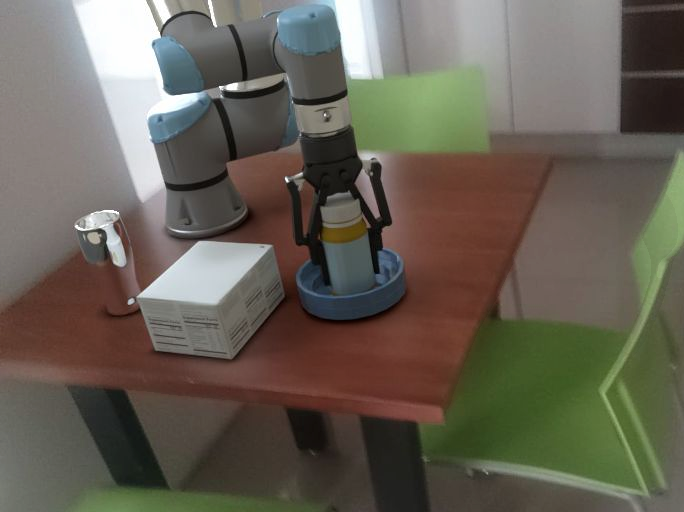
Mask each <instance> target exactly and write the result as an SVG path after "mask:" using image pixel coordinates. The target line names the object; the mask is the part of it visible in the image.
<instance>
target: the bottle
mask: <svg viewBox="0 0 684 512" xmlns="http://www.w3.org/2000/svg"><path fill="white" fill-rule="evenodd" d="M320 209H321V214H322V221H321V226H320V231H319V239H320V241H321V244H322V246H323V251H324V256H325V261H326V266H327V272H328V277H329V282H330V285H329V288H330V292H331V293H332V295H334V296H346V295H354V294H359V293H364V292H368V291H370V290H373V289H374V287H375V285H376V284H375V276H374V269H373V263H372V256H371V249H370V243H369V236H368V230H367V228H368V225H367V222H366V221H365V219H364V217H363V213H362V211H361V209H360V202H359V198H358V199H356V200H354V198H353V197H352V195H351V193H350V192H349V191H348V192H346V193H336V194H334V195H332V196H328V197H327V201H326V204H325V206H321V208H320Z"/></svg>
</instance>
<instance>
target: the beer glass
mask: <svg viewBox="0 0 684 512" xmlns="http://www.w3.org/2000/svg"><path fill="white" fill-rule="evenodd" d="M73 226H74V229H75V232H76V236H77V240H78V243H79V246H80V250H81V253H82V255H83V257H84V260H85V262H86V264H87V265H88V268H89V269H90V271H91V272H92V274H93V276H94V277H95V279H96V280H97V282H98V284H99V286H100V288H101V290H102V292H103V296H104V300H105V306H106V311H107V313H108V314H109V315H112V316H117V317H119V316H126V315H130V314H133V313H135V312H138V311H139V310H141V308H140V306H139V303H138V300H137V298H136V297H137V296H138V295H140V294H141V293H142V292H143V291H142V289H141V287H140V285H139V282H138V279H137V274H136V265H135V259H134V253H133V248H132V244H131V240H130V237H129V235H128V231H127V229H126V227H125V225H124V223H123V220H122V218H121V215H120V213H119V212H117V211H114V210H102V211H96V212H92V213H90V214H86V215H84V216H83V217H81V218H79V219H78V220H77V221H75V222H74V225H73Z"/></svg>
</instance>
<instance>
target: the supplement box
mask: <svg viewBox="0 0 684 512" xmlns="http://www.w3.org/2000/svg"><path fill="white" fill-rule="evenodd" d="M274 248H275V247H274V245H272V244H267V243H246V242H244V243H243V242H227V241H226V242H225V241H214V240H213V241H212V240H198V241H197V242H196V243H195V244H193V246H191V247H190V248H189V250H187V251H186V252H185V253H184V254H183V255H182V256H181V257H180V258H179V259H178V260H176V261H175V262H174V263H173V264H172V265H171V266H170V267H168V269H166V270H165V271H164V272H163V273H161V275H160V276H158V277H157V278H156V279H155V280H154V281H153V282H152V283H151V284H149V286H147V287H146V288H145V289H144V290H143V291H142V293H141V294H140V295H138V296H137V297H136V298H137V300H138V303H139V306H140V308H141V309H140V311H141V314H142V316H143V321H144V323H145V326H146V328H147V331H148V334H149V336H150V341H151V342H152V345H153V349H154V351H156V352H166V353H173V354H181V355H192V356H199V357H208V358H209V357H210V358H216V359H217V358H218V359H225V360H233V359H234V358H235V357H236V355H237V354H238V353H239V352H240V350H242V348H243V347H244V346H245V345H246V343H247V342H248V341H249V340H250V339H251V338H252V337H253V335H254V334H255V333H256V332H257V331H258V329H259V328H260V327H261V326H262V325H263V323H264V322H265V321H266V319H268V317H269V316H270V315H271V314H272V313H273V311H274V310H275V309H276V308H277V306H279V304H280V303H281V302H282V300H283V299H285V297H286V296H285V295H286V294H285V290H284V287H283V286H284V285H283V281H282V277H281V273H280V269H279V265H278V261H277V256H276V253H275V249H274Z"/></svg>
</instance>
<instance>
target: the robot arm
mask: <svg viewBox="0 0 684 512" xmlns="http://www.w3.org/2000/svg"><path fill="white" fill-rule="evenodd" d="M207 2H208V5H209V8H208V6H207V4H206V1H205V0H144V3H145V5H146V7H147V10H148V12H149V15H150V17H151V20H152V23H153V25H154V28H155V30H156V32H157V35H158V37H159V38H154V39H152V41H151V42H150V46H149V47H150V54H151V59H152V62H153V66H154V70H155V72H156V75H157V78H158V81H159V84H160V86H161V88H162V90H163V91H164V92H165V94H167V95H169V96H170V97H168V98H165V99H164V100H162V101H159V102H158V103H157V104H156V105H154V106H153V107H152V108H151V109H150V110H149V112H148V114H147V116H146V121H147V122H146V123H147V127H148V131H149V140H150V142H151V143H152V145H153V148H154V151H155V154H156V159H157V162H158V165H159V169H160V173H161V176H162V180H163V183H164V187H165V192H166V193H165V214H164V216H165V218H164V220H165V226H166V229H167V232H168V233H169V234H170V235H172V236H174V237H177V238H181V239H204V238H209V237H215V236H218V235H221V234H223V233H226V232H229V231H231V230H233V229H235V228H237V227H239V226H240V225H241V224H242V223H244V222H245V221H246V220H247V218H248V216H249V210H248V207H247V203H246V201H245V199H244V197H243V196H242V194H241V193H240V191H239V189H238V188H237V186H236V184H235V183H234V182H233V180H232V179H231V177H230V174H229V173H230V172H229V170H228V165H227V163H231V162H234V161H239V160H243V159H247V158H251V157H255V156H259V155H262V154H266V153H267V154H268V153H271V152H275V153H276V152H278V151H280V150H282V149H285V148H288V147H292V146H294V145H295V144H296V143H297V141H298V140H299V145H300V150H301V151H300V152H301V156H302V163H303V166H302V169H301V172H299V173H297V174H295V175H293V176H292V175H290V174H289V175H286V176H285V177H284V178H283V180H284V181H283V182H284V184H285V186H286V188H287V190H288V192H289V202H290V203H289V204H290V215H291V230H292V238H293V240H294V243H295V245H296V246H297V247H302V246H306V247H307V249H308V254H309V257H310V258H309V259H311V262H312V264H313V265H314V266H317V265H319V267H320V272H321V277H322V280H323V282H324V285H325V286H329V285H330V282H329V277H328V272H327V266H326V261H325V256H324V251H323V246H322V244H321V241H320V238H319V237H320V234H319V231H320V226H321V221H322V214H321V209H320V208H321V206H325V204H326V201H327V197H328V196H332V195H334V194H336V193H346V192H348V191H349V192H350V193H351V195H352V197H353V198H354V200H356V199H358V198H359V202H360V209H361V212H362V216H364V218H365V220H366V221H367V223H368V224H369V226H370V227H367V230H368V236H369V243H370V249H371V256H372V263H373V269H374V273H375V275H376V274H380V268H379V262H378V255H377V251H381V250H383V247H384V243H383V237H382V236H383V235H382V233H383V229H384V228H385V227H390V226H392V225H393V219H392V215H391V211H390V208H389V204H388V200H387V197H386V193H385V188H384V185H383V182H382V169H383V166H382V164H381V162H380V161H379V160H378V159H377V157H371V158H370V159H361V157H360V156H359V155H358V148H357V142H356V135H355V129H354V127H353V125H351V124H352V122H353V117H352V111H351V104H350V97H349V92H348V84H347V77H346V70H345V63H344V56H343V51H342V43H341V40H342V33H341V31H340V28H339V26H338V21H337V16H336V12H335V11H334V9H333V8H332V7H331V6H329V5H327V4H317V3H312V4H301V5H296V6H292V7H289V8H286V9H276V10H271V11H267V13H265V14H264V13H263V7H262V2H261V0H208V1H207ZM209 9H210V10H209ZM284 74H286V77H287V80H285V75H284ZM216 88H219V92H220V95H219V96H215V97H211V95H210V94H209V93H208V92H207V91H208V90H211V89H213V90H214V89H216ZM362 170H364V173H365V174H366V176H367V177H368V178H369V181H370V184H371V185H370V186H371V189H372V192H373V197H374V199H375V203H376V206H377V209H378V213H379V216H378V217H375V215H374V213H373V212H372V210H371V209H370V207H369V205H368V204H367V202H366V200H365V199H364V197H363V195H362V193H361V192H360V190H359V189H358V187H357V185H356V182H357V179H358V178H359V176H360V174H361V172H362ZM305 182H307V183H308V184H309V185H310V186H311V187H312V188H313V197H312V204H311V208H310V213H309V218H308V224H307V228H306V233H304V223H303V208H302V196H301V193H300V192H301V191H303V189H304V186H303V185H304V183H305Z"/></svg>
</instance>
